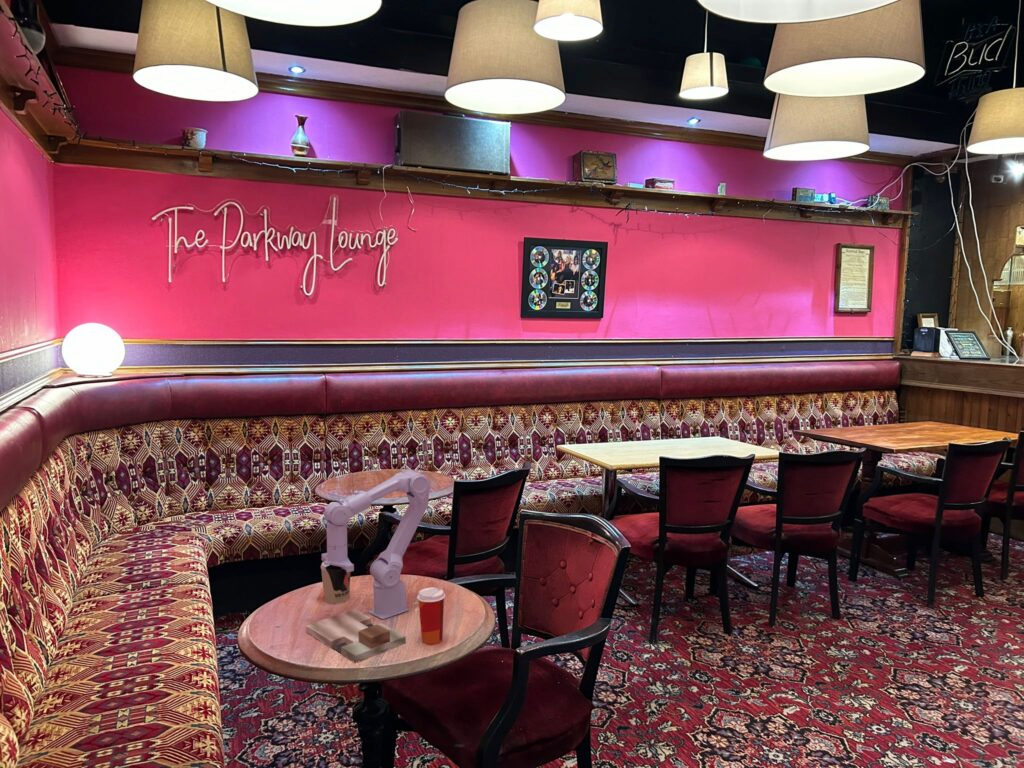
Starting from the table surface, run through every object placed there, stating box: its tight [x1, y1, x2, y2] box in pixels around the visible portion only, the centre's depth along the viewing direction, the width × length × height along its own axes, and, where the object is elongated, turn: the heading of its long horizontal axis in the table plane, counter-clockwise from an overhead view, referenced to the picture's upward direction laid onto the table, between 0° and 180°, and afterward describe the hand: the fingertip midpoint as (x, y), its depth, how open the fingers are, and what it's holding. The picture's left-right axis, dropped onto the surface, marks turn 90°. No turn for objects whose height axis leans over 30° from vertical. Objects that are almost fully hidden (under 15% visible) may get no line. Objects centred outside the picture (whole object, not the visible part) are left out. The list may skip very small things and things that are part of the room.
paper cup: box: [417, 586, 446, 646], centre depth 200 cm, size 8×8×14 cm
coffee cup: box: [320, 561, 351, 605], centre depth 230 cm, size 9×9×12 cm
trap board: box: [305, 608, 407, 664], centre depth 203 cm, size 16×26×2 cm, turn 44°
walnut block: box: [359, 623, 390, 649], centre depth 196 cm, size 6×6×3 cm
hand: (337, 589), depth 211 cm, fingers closed
